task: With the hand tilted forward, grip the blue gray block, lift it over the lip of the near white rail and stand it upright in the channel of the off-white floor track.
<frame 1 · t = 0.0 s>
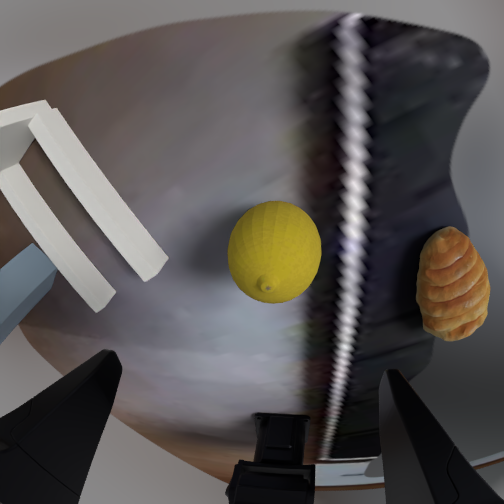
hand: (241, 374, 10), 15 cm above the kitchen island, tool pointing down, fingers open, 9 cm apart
lemon: (280, 221, 23), on the kitchen island
blue gray block: (41, 266, 29), on the kitchen island
pastry: (445, 279, 24), on the kitchen island
track: (79, 210, 25), on the kitchen island
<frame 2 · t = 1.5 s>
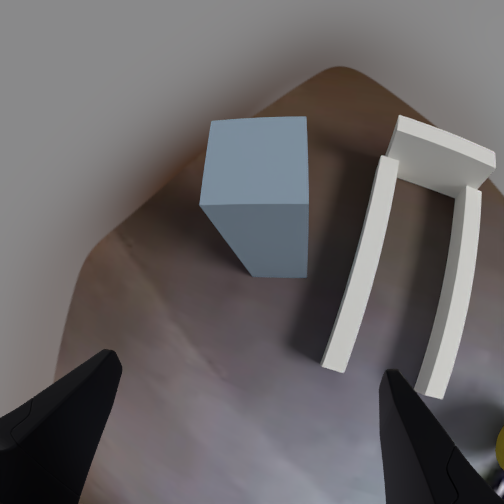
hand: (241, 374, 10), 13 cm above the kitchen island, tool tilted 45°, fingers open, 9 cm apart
lemon: (503, 433, 17), on the kitchen island
blue gray block: (280, 251, 24), on the kitchen island
track: (408, 277, 22), on the kitchen island
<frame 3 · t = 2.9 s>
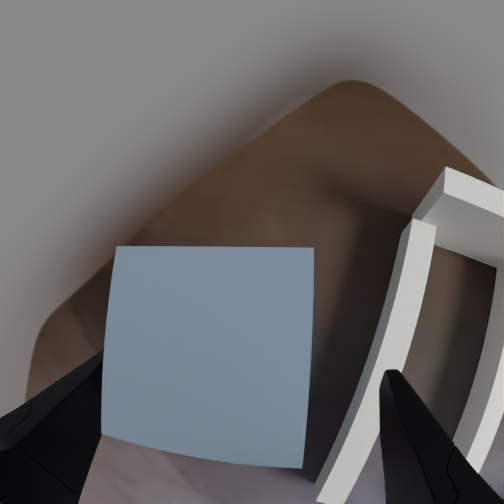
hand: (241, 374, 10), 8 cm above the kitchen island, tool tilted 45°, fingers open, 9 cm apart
blue gray block: (269, 349, 18), on the kitchen island
track: (433, 380, 16), on the kitchen island
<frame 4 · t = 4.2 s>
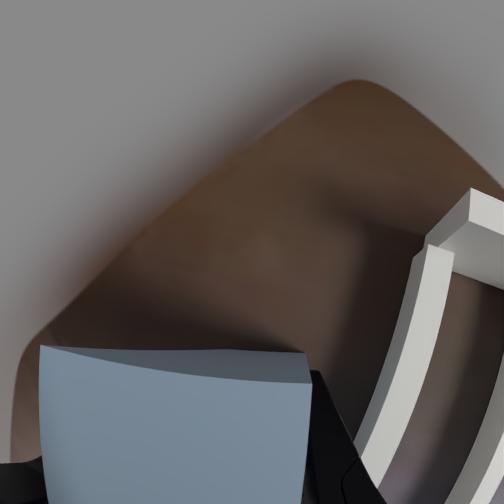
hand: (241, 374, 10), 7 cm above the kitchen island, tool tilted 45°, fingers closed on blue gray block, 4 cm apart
blue gray block: (263, 389, 16), on the kitchen island, touching gripper
track: (441, 419, 13), on the kitchen island
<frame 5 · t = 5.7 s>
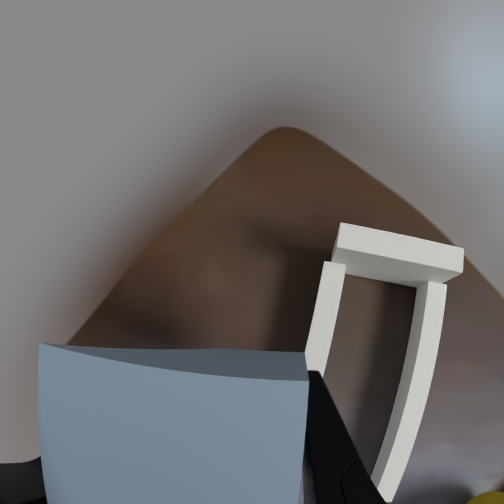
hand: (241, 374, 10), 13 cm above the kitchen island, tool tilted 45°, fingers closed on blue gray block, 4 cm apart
blue gray block: (263, 388, 16), point 7 cm above the kitchen island, touching gripper
track: (359, 387, 21), on the kitchen island
when the fingers open (8 cm above the kitchen island, at t = 7.5 s): blue gray block drops 1 cm, resting in track.
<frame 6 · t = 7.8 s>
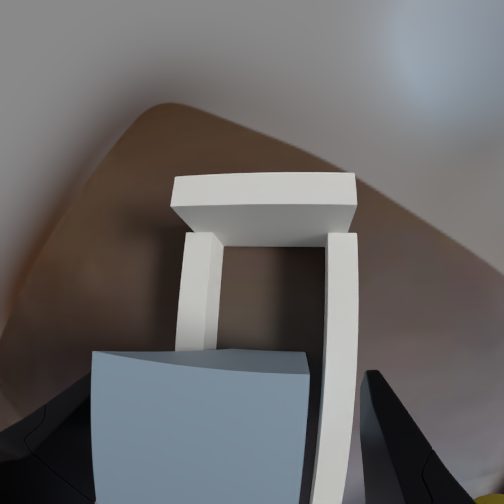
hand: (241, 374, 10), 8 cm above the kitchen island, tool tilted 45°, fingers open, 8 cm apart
blue gray block: (267, 385, 17), resting in track
track: (266, 385, 17), on the kitchen island
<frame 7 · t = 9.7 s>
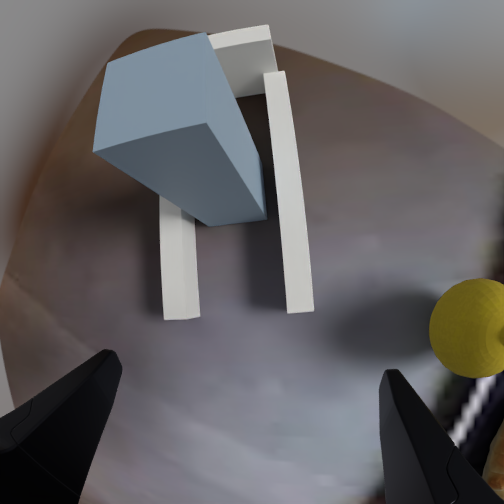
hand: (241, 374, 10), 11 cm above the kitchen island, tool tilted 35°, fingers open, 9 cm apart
lemon: (448, 322, 19), on the kitchen island
blue gray block: (235, 194, 22), resting in track
track: (235, 194, 22), on the kitchen island
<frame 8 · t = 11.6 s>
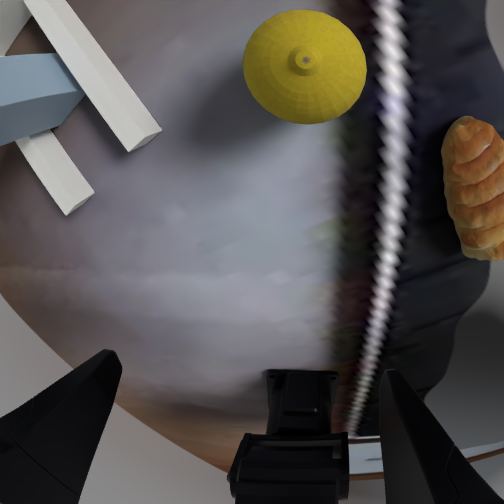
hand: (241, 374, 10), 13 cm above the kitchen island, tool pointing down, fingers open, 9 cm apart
lemon: (304, 71, 16), on the kitchen island
blue gray block: (61, 89, 18), resting in track
pastry: (476, 189, 18), on the kitchen island
track: (61, 89, 18), on the kitchen island
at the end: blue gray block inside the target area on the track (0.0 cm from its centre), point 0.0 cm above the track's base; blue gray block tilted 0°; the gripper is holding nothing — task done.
